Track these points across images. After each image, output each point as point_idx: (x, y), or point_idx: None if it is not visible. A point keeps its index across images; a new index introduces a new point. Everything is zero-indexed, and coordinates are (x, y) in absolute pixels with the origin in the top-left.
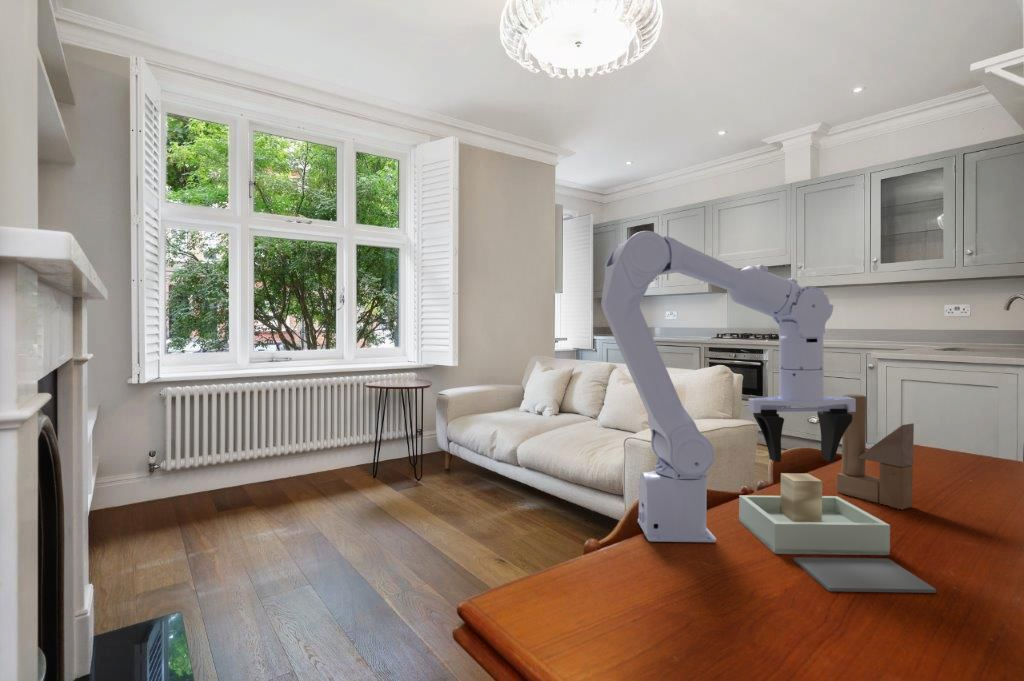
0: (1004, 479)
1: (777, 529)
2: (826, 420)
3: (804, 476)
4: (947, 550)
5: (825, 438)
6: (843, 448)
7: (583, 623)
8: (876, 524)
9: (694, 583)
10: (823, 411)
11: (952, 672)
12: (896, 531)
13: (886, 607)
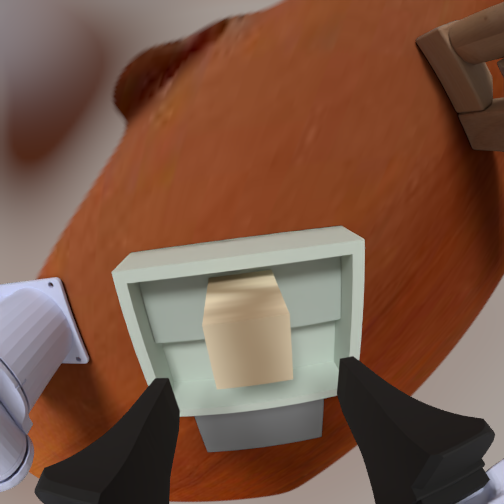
0: None
1: None
2: (393, 483)
3: (265, 346)
4: (426, 323)
5: (368, 419)
6: (488, 22)
7: (37, 461)
8: (335, 394)
9: (83, 436)
10: (414, 501)
11: (249, 498)
12: (414, 260)
13: (251, 460)
